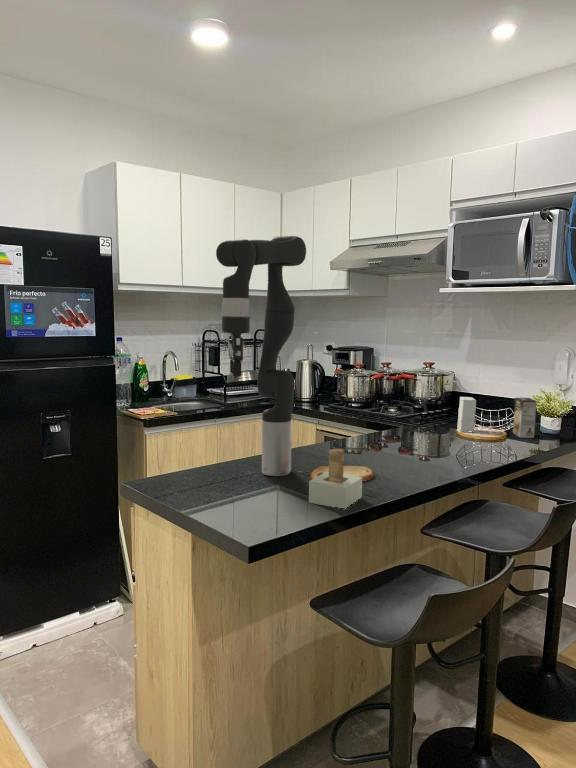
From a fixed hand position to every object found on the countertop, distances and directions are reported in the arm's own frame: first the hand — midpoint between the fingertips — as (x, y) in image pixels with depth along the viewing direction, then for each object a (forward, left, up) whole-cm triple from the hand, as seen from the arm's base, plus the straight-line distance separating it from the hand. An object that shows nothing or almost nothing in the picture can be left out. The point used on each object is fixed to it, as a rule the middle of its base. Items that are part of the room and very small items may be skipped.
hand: (235, 374), depth 158 cm
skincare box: (-131, +35, -34) cm, 140 cm away
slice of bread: (-32, +18, -35) cm, 51 cm away
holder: (-11, +26, -34) cm, 44 cm away
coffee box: (-134, +58, -34) cm, 151 cm away
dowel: (-11, +26, -34) cm, 44 cm away
